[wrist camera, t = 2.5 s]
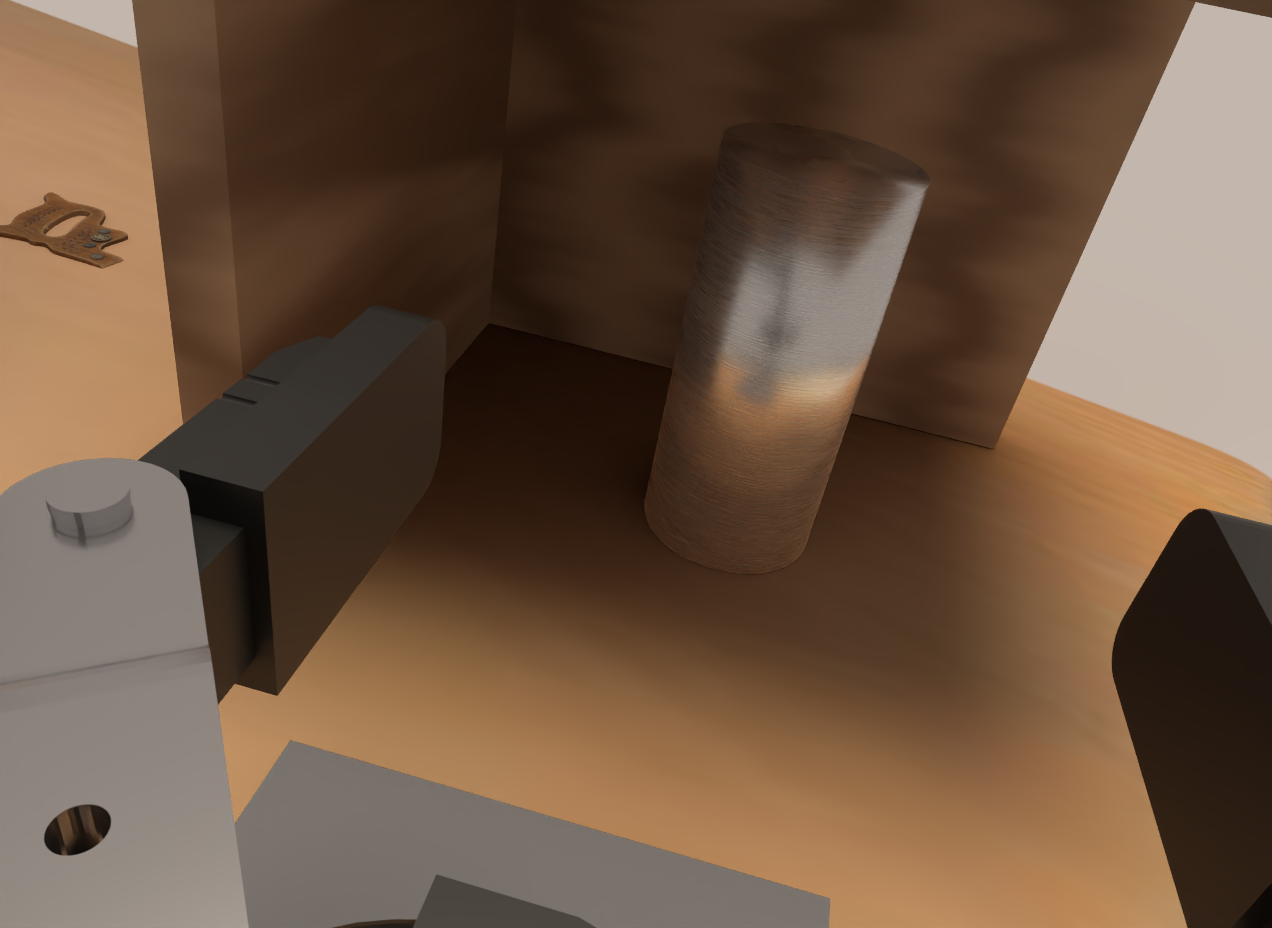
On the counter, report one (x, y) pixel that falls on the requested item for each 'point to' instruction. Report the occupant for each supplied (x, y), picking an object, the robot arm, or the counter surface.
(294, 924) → the rubber mat
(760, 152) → the steel tin
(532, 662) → the counter surface
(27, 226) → the hand saw
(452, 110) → the walnut desk
